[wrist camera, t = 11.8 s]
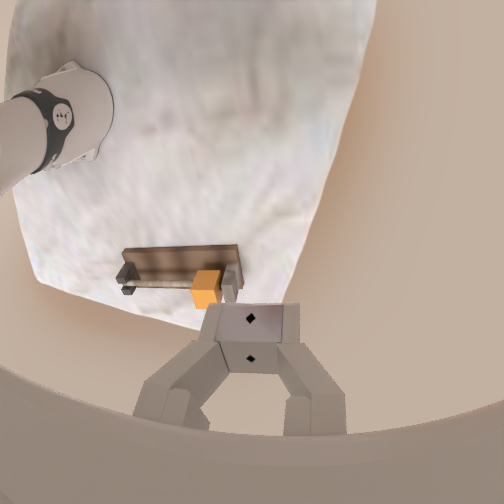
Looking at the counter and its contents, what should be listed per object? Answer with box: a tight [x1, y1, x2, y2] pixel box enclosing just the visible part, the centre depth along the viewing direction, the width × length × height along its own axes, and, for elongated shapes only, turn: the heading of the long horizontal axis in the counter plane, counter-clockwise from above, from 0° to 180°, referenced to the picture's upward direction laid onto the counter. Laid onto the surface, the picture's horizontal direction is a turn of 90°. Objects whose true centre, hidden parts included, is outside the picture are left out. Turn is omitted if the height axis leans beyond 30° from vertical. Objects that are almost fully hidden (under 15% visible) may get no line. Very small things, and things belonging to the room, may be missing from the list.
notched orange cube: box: [190, 270, 223, 309], centre depth 48 cm, size 4×4×5 cm
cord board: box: [116, 245, 244, 303], centre depth 52 cm, size 23×9×8 cm, turn 97°
